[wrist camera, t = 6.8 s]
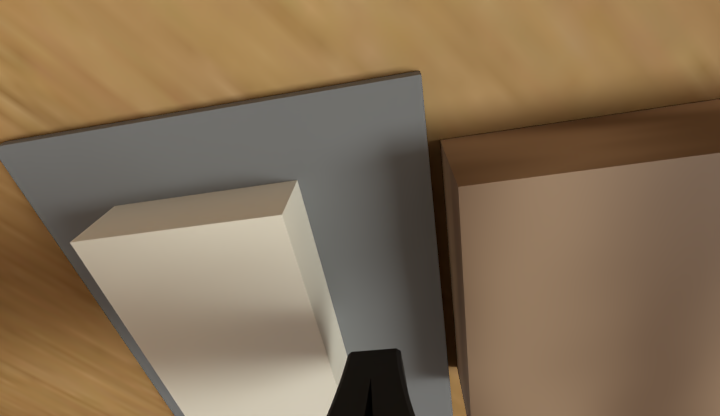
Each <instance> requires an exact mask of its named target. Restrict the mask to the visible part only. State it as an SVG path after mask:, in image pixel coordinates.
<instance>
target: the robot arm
mask: <svg viewBox="0 0 720 416" xmlns="http://www.w3.org/2000/svg"><path fill="white" fill-rule="evenodd" d="M327 416H415V413H414V411H413V407H412V404H411V401H410V397H409V394H408V388H407V382H406V377H405V371H404V366H403V360H402V354H401V351H400V350H398V349H397V348H393V349H380V350H368V351H355V352H351V353H350V354H348V357H347V360H346V364H345V367H344V370H343V373H342V376H341V379H340V382H339V385H338V388H337V391H336V393H335V396H334V399H333V401H332V404H331V406H330V409H329V411H328V414H327Z"/></svg>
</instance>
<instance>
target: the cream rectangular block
mask: <svg viewBox="0 0 720 416" xmlns="http://www.w3.org/2000/svg"><path fill="white" fill-rule="evenodd" d="M70 244H71V245H72V247H73V248H74V250H75V251H76V253H77V254H78V256H79V257H80V259H81V260H82V262H83V263H84V265H85V266H86V268H87V269H88V271H89V272H90V274H91V275H92V277H93V278H94V280H95V281H96V283H97V284H98V286H99V287H100V289H101V290H102V292H103V293H104V295H105V296H106V298H107V299H108V301H109V302H110V304H111V305H112V307H113V308H114V310H115V311H116V313H117V314H118V316H119V317H120V319H121V320H122V322H123V323H124V325H125V326H126V328H127V329H128V331H129V332H130V334H131V335H132V337H133V338H134V340H135V341H136V343H137V344H138V346H139V348H140V349H141V351H142V352H143V354H144V355H145V357H146V358H147V360H148V361H149V363H150V364H151V366H152V367H153V369H154V370H155V372H156V373H157V375H158V376H159V378H160V379H161V381H162V382H163V384H164V385H165V387H166V388H167V390H168V391H169V393H170V394H171V396H172V397H173V399H174V400H175V402H176V403H177V405H178V406H179V408H180V409H181V411H182V412H183V414H184V415H185V416H327V414H328V411H329V409H330V406H331V404H332V401H333V399H334V396H335V393H336V391H337V388H338V385H339V382H340V379H341V376H342V373H343V370H344V367H345V364H346V360H347V354H346V350H345V347H344V343H343V339H342V336H341V332H340V329H339V325H338V322H337V318H336V315H335V311H334V308H333V304H332V301H331V297H330V294H329V290H328V287H327V283H326V279H325V276H324V272H323V269H322V265H321V262H320V258H319V255H318V251H317V248H316V244H315V241H314V237H313V234H312V230H311V227H310V223H309V219H308V216H307V212H306V209H305V205H304V202H303V198H302V195H301V191H300V188H299V184H298V181H297V180H294V181H287V182H280V183H273V184H266V185H259V186H252V187H245V188H238V189H231V190H224V191H217V192H210V193H203V194H196V195H189V196H182V197H175V198H168V199H161V200H153V201H146V202H139V203H132V204H125V205H118V206H114V207H113V208H111V209H110V210H109V211H108V212H107V213H105V214H104V215H103V216H102V217H100V218H99V219H98V220H97V221H96V222H94V223H93V224H92V225H91V226H89V227H88V228H87V229H86V230H84V231H83V232H82V233H81V234H80V235H78V236H77V237H76V238H75V239H73V240H72V241H71V242H70Z"/></svg>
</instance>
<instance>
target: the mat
mask: <svg viewBox="0 0 720 416" xmlns="http://www.w3.org/2000/svg"><path fill="white" fill-rule="evenodd" d="M0 160H1V162H2V163H3V165H4V166H5V168H6V169H7V171H8V172H9V174H10V175H11V177H12V178H13V179H14V181H15V182H16V184H17V185H18V187H19V188H20V190H21V191H22V193H23V194H24V196H25V197H26V198H27V200H28V201H29V203H30V204H31V206H32V207H33V209H34V210H35V212H36V213H37V215H38V216H39V218H40V219H41V220H42V222H43V223H44V225H45V226H46V228H47V229H48V231H49V232H50V234H51V235H52V237H53V238H54V240H55V241H56V242H57V244H58V245H59V247H60V248H61V250H62V251H63V253H64V254H65V256H66V257H67V259H68V260H69V262H70V263H71V264H72V266H73V267H74V269H75V270H76V272H77V273H78V275H79V276H80V278H81V279H82V281H83V282H84V283H85V285H86V286H87V288H88V289H89V291H90V292H91V294H92V295H93V297H94V298H95V300H96V301H97V303H98V304H99V305H100V307H101V308H102V310H103V311H104V313H105V314H106V316H107V317H108V319H109V320H110V322H111V323H112V325H113V326H114V327H115V329H116V330H117V332H118V333H119V335H120V336H121V338H122V339H123V341H124V342H125V344H126V345H127V346H128V348H129V349H130V351H131V352H132V354H133V355H134V357H135V358H136V360H137V361H138V363H139V364H140V366H141V367H142V368H143V370H144V371H145V373H146V374H147V376H148V377H149V379H150V380H151V382H152V383H153V385H154V386H155V388H156V389H157V390H158V392H159V393H160V395H161V396H162V398H163V399H164V401H165V402H166V404H167V405H168V407H169V408H170V410H171V411H172V412H173V414H174V415H175V416H185V415H184V414H183V412H182V411H181V409H180V408H179V406H178V405H177V403H176V402H175V400H174V399H173V397H172V396H171V394H170V393H169V391H168V390H167V388H166V387H165V385H164V384H163V382H162V381H161V379H160V378H159V376H158V375H157V373H156V372H155V370H154V369H153V367H152V366H151V364H150V363H149V361H148V360H147V358H146V357H145V355H144V354H143V352H142V351H141V349H140V348H139V346H138V344H137V343H136V341H135V340H134V338H133V337H132V335H131V334H130V332H129V331H128V329H127V328H126V326H125V325H124V323H123V322H122V320H121V319H120V317H119V316H118V314H117V313H116V311H115V310H114V308H113V307H112V305H111V304H110V302H109V301H108V299H107V298H106V296H105V295H104V293H103V292H102V290H101V289H100V287H99V286H98V284H97V283H96V281H95V280H94V278H93V277H92V275H91V274H90V272H89V271H88V269H87V268H86V266H85V265H84V263H83V262H82V260H81V259H80V257H79V256H78V254H77V253H76V251H75V250H74V248H73V247H72V245H71V244H70V242H71V241H72V240H73V239H75V238H76V237H77V236H78V235H80V234H81V233H82V232H83V231H84V230H86V229H87V228H88V227H89V226H91V225H92V224H93V223H94V222H96V221H97V220H98V219H99V218H100V217H102V216H103V215H104V214H105V213H107V212H108V211H109V210H110V209H111V208H113V207H114V206H118V205H125V204H132V203H139V202H146V201H153V200H161V199H168V198H175V197H182V196H189V195H196V194H203V193H210V192H217V191H224V190H231V189H238V188H245V187H252V186H259V185H266V184H273V183H280V182H287V181H294V180H297V181H298V184H299V188H300V191H301V195H302V198H303V202H304V205H305V209H306V212H307V216H308V219H309V223H310V227H311V230H312V234H313V237H314V241H315V244H316V248H317V251H318V255H319V258H320V262H321V265H322V269H323V272H324V276H325V279H326V283H327V287H328V290H329V294H330V297H331V301H332V304H333V308H334V311H335V315H336V318H337V322H338V325H339V329H340V332H341V336H342V339H343V343H344V347H345V350H346V354H347V357H348V354H350V353H351V352H355V351H368V350H380V349H393V348H397V349H398V350H400V351H401V354H402V360H403V366H404V371H405V377H406V382H407V388H408V394H409V397H410V401H411V404H412V407H413V411H414V413H415V416H453V412H452V401H451V391H450V380H449V369H448V358H447V348H446V337H445V326H444V315H443V305H442V294H441V283H440V272H439V261H438V251H437V240H436V229H435V218H434V208H433V197H432V186H431V175H430V165H429V154H428V143H427V132H426V121H425V111H424V100H423V89H422V78H421V73H420V71H415V72H409V73H403V74H397V75H392V76H386V77H380V78H374V79H368V80H362V81H357V82H351V83H345V84H339V85H333V86H327V87H322V88H316V89H310V90H304V91H298V92H292V93H286V94H281V95H275V96H269V97H263V98H257V99H251V100H246V101H240V102H234V103H228V104H222V105H216V106H211V107H205V108H199V109H193V110H187V111H181V112H175V113H170V114H164V115H158V116H152V117H146V118H140V119H135V120H129V121H123V122H117V123H111V124H105V125H100V126H94V127H88V128H82V129H76V130H70V131H65V132H59V133H53V134H47V135H41V136H35V137H29V138H24V139H18V140H12V141H6V142H4V143H1V144H0Z"/></svg>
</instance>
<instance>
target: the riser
mask: <svg viewBox="0 0 720 416" xmlns="http://www.w3.org/2000/svg"><path fill="white" fill-rule="evenodd" d="M440 144H441V158H442V171H443V184H444V197H445V211H446V224H447V237H448V250H449V264H450V277H451V290H452V303H453V317H454V330H455V343H456V356H457V369H458V374H459V379H460V384H461V389H462V394H463V399H464V404H465V409H466V414H467V416H720V99H716V100H709V101H702V102H696V103H689V104H682V105H675V106H668V107H662V108H655V109H648V110H641V111H634V112H628V113H621V114H614V115H607V116H600V117H594V118H587V119H580V120H573V121H566V122H560V123H553V124H546V125H539V126H532V127H526V128H519V129H512V130H505V131H498V132H492V133H485V134H478V135H471V136H464V137H458V138H451V139H444V140H440Z"/></svg>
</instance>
